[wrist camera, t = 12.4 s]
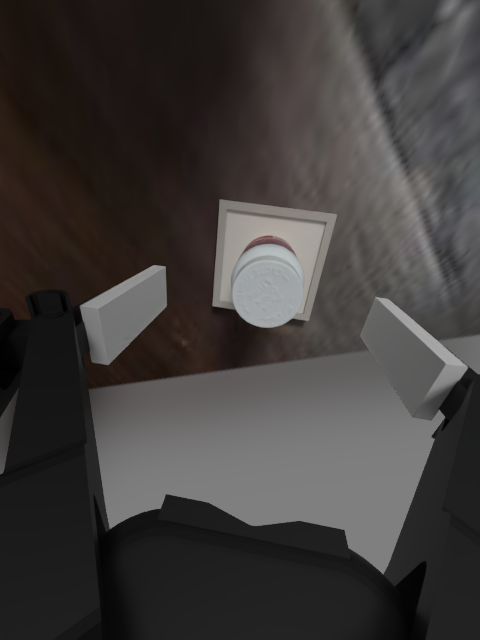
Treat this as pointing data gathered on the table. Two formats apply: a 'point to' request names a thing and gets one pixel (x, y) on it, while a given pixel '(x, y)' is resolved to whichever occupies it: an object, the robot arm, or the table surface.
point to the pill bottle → (267, 282)
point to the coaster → (289, 224)
